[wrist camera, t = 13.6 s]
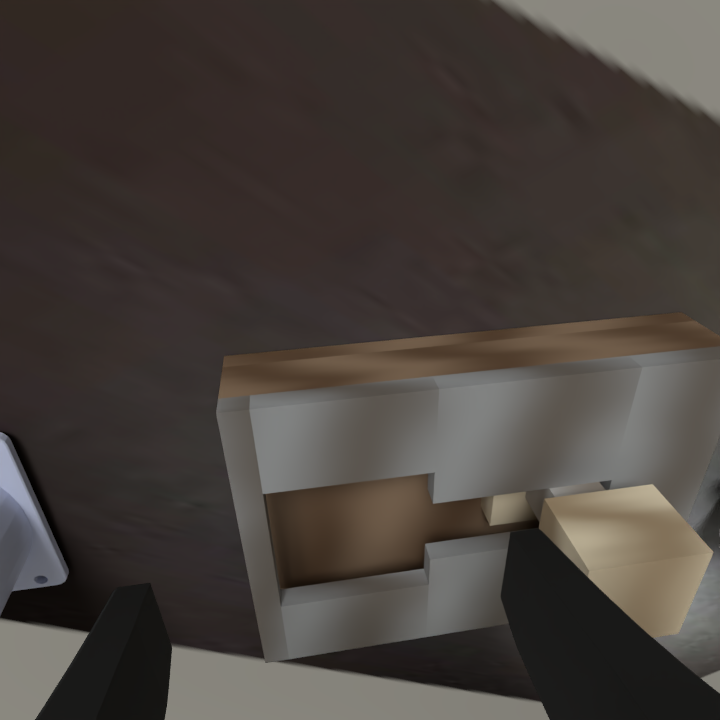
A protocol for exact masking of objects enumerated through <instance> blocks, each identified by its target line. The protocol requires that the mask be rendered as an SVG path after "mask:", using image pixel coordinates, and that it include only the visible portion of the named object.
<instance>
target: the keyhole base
mask: <svg viewBox="0 0 720 720" xmlns="http://www.w3.org/2000/svg"><path fill="white" fill-rule="evenodd" d="M216 415H217V420H218V425H219V430H220V435H221V440H222V445H223V450H224V455H225V460H226V465H227V471H228V476H229V481H230V486H231V491H232V496H233V501H234V506H235V511H236V516H237V521H238V526H239V531H240V536H241V541H242V546H243V551H244V556H245V561H246V566H247V572H248V577H249V582H250V587H251V592H252V597H253V602H254V607H255V612H256V617H257V622H258V627H259V632H260V637H261V642H262V647H263V652H264V657H265V662H266V663H268V662H274V661H281V660H287V659H293V658H299V657H305V656H312V655H318V654H324V653H330V652H336V651H343V650H349V649H355V648H361V647H367V646H374V645H380V644H386V643H392V642H398V641H405V640H411V639H417V638H423V637H429V636H436V635H442V634H448V633H454V632H460V631H467V630H473V629H479V628H485V627H491V626H498V625H504V624H509V622H508V619H507V616H506V613H505V610H504V607H503V603H502V600H501V597H500V596H501V589H502V583H503V576H504V570H505V564H506V557H507V551H508V544H509V538H510V532H515V531H522V530H529V529H536V528H539V523H540V522H539V521H538V519H536V520H528V521H521V522H514V523H507V524H500V525H492V526H490V525H489V523H488V520H487V518H486V516H485V514H484V512H483V510H482V508H481V497H488V496H496V495H503V494H511V493H518V492H526V491H533V490H541V489H549V488H556V487H564V486H571V485H579V484H586V483H594V482H600V484H601V485H602V486H603V487H604V489H605V490H613V489H620V488H628V487H635V486H642V485H650V484H653V485H654V486H655V487H656V488H657V490H658V491H659V492H660V493H661V494H662V495H663V496H664V497H665V499H666V500H667V501H668V502H669V503H670V504H671V505H672V506H673V507H674V509H675V510H676V511H677V512H678V513H679V514H680V515H681V516H682V518H683V519H684V520H685V521H686V522H687V521H688V518H689V515H690V513H691V510H692V508H693V505H694V502H695V500H696V497H697V495H698V492H699V489H700V487H701V484H702V482H703V479H704V476H705V474H706V471H707V468H708V466H709V463H710V461H711V458H712V455H713V453H714V450H715V448H716V445H717V442H718V440H719V437H720V336H718V335H717V334H715V333H714V332H712V331H710V330H709V329H707V328H706V327H704V326H702V325H701V324H699V323H698V322H696V321H694V320H693V319H691V318H690V317H688V316H686V315H685V314H683V313H682V312H679V313H669V314H658V315H648V316H637V317H627V318H617V319H606V320H596V321H585V322H575V323H564V324H554V325H544V326H533V327H523V328H512V329H502V330H491V331H481V332H471V333H460V334H450V335H439V336H429V337H418V338H408V339H398V340H387V341H377V342H366V343H356V344H345V345H335V346H325V347H314V348H304V349H293V350H283V351H272V352H262V353H252V354H241V355H231V356H224V361H223V368H222V375H221V383H220V390H219V397H218V404H217V411H216Z"/></svg>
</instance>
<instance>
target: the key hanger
mask: <svg viewBox="0 0 720 720" xmlns="http://www.w3.org/2000/svg"><path fill="white" fill-rule="evenodd" d="M481 508H482V510H483V512H484V514H485V516H486V518H487V520H488V523H489V525H490V526H492V525H500V524H507V523H514V522H521V521H528V520H536V519H538V521H539V522H540V523H539V529H540V530H541V531H543V532H544V533H545V534H546V535H547V536H548V537H549V539H550V540H551V541H552V542H553V543H554V544H555V545H556V546H557V547H558V548H559V549H560V550H561V551H562V552H563V553H564V554H565V555H566V556H567V557H568V558H569V559H570V560H571V561H572V562H573V563H574V564H575V565H576V566H577V567H578V568H579V569H580V570H581V571H582V572H583V573H584V574H585V575H586V576H587V577H588V578H589V579H590V580H591V581H592V582H593V583H594V584H595V585H596V586H597V587H598V588H599V589H601V590H602V591H603V592H604V593H605V594H606V595H607V596H608V597H609V598H610V599H611V600H612V601H613V602H614V603H615V604H616V605H617V606H618V607H620V608H621V609H622V610H623V611H624V612H625V613H626V614H627V615H628V616H629V617H630V618H631V619H632V620H634V621H635V622H636V623H637V624H638V625H639V626H640V627H641V628H642V629H643V630H645V631H646V632H647V633H648V634H649V635H650V636H651V637H652V638H654V637H660V636H666V635H672V634H678V633H679V631H680V629H681V626H682V624H683V622H684V619H685V617H686V615H687V612H688V610H689V608H690V605H691V603H692V601H693V599H694V596H695V594H696V592H697V589H698V587H699V585H700V582H701V580H702V578H703V576H704V573H705V571H706V569H707V566H708V564H709V562H710V559H711V557H712V555H713V551H712V550H711V549H710V548H709V547H708V545H707V544H706V543H705V542H704V541H703V540H702V539H701V538H700V537H699V535H698V534H697V533H696V532H695V531H694V530H693V529H692V528H691V526H690V525H689V524H688V523H687V522H686V521H685V520H684V519H683V518H682V516H681V515H680V514H679V513H678V512H677V511H676V510H675V509H674V507H673V506H672V505H671V504H670V503H669V502H668V501H667V500H666V499H665V497H664V496H663V495H662V494H661V493H660V492H659V491H658V490H657V488H656V487H655V486H654V485H653V484H650V485H642V486H635V487H628V488H620V489H613V490H605V489H604V487H603V486H602V485H601V484H600V482H594V483H586V484H579V485H571V486H564V487H556V488H549V489H541V490H533V491H526V492H518V493H511V494H503V495H496V496H488V497H481Z"/></svg>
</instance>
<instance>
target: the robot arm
mask: <svg viewBox="0 0 720 720" xmlns="http://www.w3.org/2000/svg"><path fill="white" fill-rule="evenodd" d="M68 574H69V570H68V567H67V565H66V563H65V561H64V558H63V556H62V554H61V552H60V549H59V547H58V545H57V543H56V540H55V538H54V536H53V534H52V531H51V529H50V527H49V525H48V522H47V520H46V518H45V516H44V513H43V511H42V509H41V507H40V504H39V502H38V500H37V498H36V495H35V493H34V491H33V489H32V486H31V484H30V482H29V480H28V477H27V475H26V473H25V471H24V468H23V466H22V464H21V462H20V459H19V457H18V455H17V453H16V450H15V448H14V446H13V444H12V441H11V440H10V438H9V437H8V436H7V435H5V434H4V433H1V432H0V615H1V613H2V611H3V609H4V607H5V605H6V602H7V600H8V598H9V596H10V594H11V592H12V591H18V590H25V589H32V588H39V587H46V586H54V585H59V584H62V583H63V582H65V581H66V579H67V576H68ZM500 597H501V600H502V603H503V607H504V610H505V613H506V616H507V619H508V622H509V625H510V628H511V631H512V634H513V637H514V640H515V643H516V646H517V648H518V651H519V653H520V655H521V657H522V660H523V662H524V664H525V666H526V669H527V671H528V673H529V675H530V677H531V680H532V682H533V684H534V686H535V689H536V691H537V693H538V695H539V697H540V699H541V702H542V704H543V706H544V708H545V710H546V713H547V714H548V717H549V719H550V720H720V693H718V692H717V691H716V690H714V689H713V688H712V687H711V686H709V685H708V684H707V683H706V682H704V681H703V680H702V679H701V678H699V677H698V676H697V675H696V674H695V673H693V672H692V671H691V670H690V669H689V668H687V667H686V666H685V665H684V664H682V663H681V662H680V661H679V660H678V659H677V658H675V657H674V656H673V655H672V654H671V653H670V652H668V651H667V650H666V649H665V648H664V647H663V646H662V645H660V644H659V643H658V642H657V641H656V640H655V639H653V638H652V637H651V636H650V635H649V634H648V633H647V632H646V631H645V630H643V629H642V628H641V627H640V626H639V625H638V624H637V623H636V622H635V621H634V620H632V619H631V618H630V617H629V616H628V615H627V614H626V613H625V612H624V611H623V610H622V609H621V608H620V607H618V606H617V605H616V604H615V603H614V602H613V601H612V600H611V599H610V598H609V597H608V596H607V595H606V594H605V593H604V592H603V591H602V590H601V589H599V588H598V587H597V586H596V585H595V584H594V583H593V582H592V581H591V580H590V579H589V578H588V577H587V576H586V575H585V574H584V573H583V572H582V571H581V570H580V569H579V568H578V567H577V566H576V565H575V564H574V563H573V562H572V561H571V560H570V559H569V558H568V557H567V556H566V555H565V554H564V553H563V552H562V551H561V550H560V549H559V548H558V547H557V546H556V545H555V544H554V543H553V542H552V541H551V540H550V539H549V537H548V536H547V535H546V534H545V533H544V532H543V531H541V530H540V529H539V528H536V529H529V530H522V531H515V532H510V538H509V544H508V551H507V557H506V564H505V570H504V576H503V583H502V589H501V596H500ZM171 653H172V646H171V643H170V640H169V637H168V634H167V631H166V628H165V625H164V623H163V620H162V617H161V614H160V611H159V608H158V605H157V602H156V599H155V596H154V593H153V590H152V587H151V584H150V583H146V584H139V585H132V586H125V587H118V588H116V589H115V590H114V591H113V592H112V594H111V596H110V598H109V600H108V601H107V603H106V605H105V607H104V608H103V610H102V612H101V614H100V615H99V617H98V619H97V621H96V622H95V624H94V626H93V628H92V629H91V631H90V633H89V634H88V636H87V638H86V639H85V641H84V643H83V644H82V646H81V648H80V649H79V651H78V653H77V654H76V656H75V658H74V659H73V661H72V663H71V664H70V666H69V668H68V669H67V671H66V672H65V674H64V675H63V677H62V679H61V680H60V682H59V683H58V685H57V687H56V688H55V690H54V691H53V693H52V694H51V696H50V698H49V699H48V701H47V702H46V704H45V706H44V707H43V708H42V710H41V712H40V713H39V715H38V716H37V718H36V719H35V720H164V719H165V713H166V707H167V699H168V689H169V678H170V666H171Z"/></svg>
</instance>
